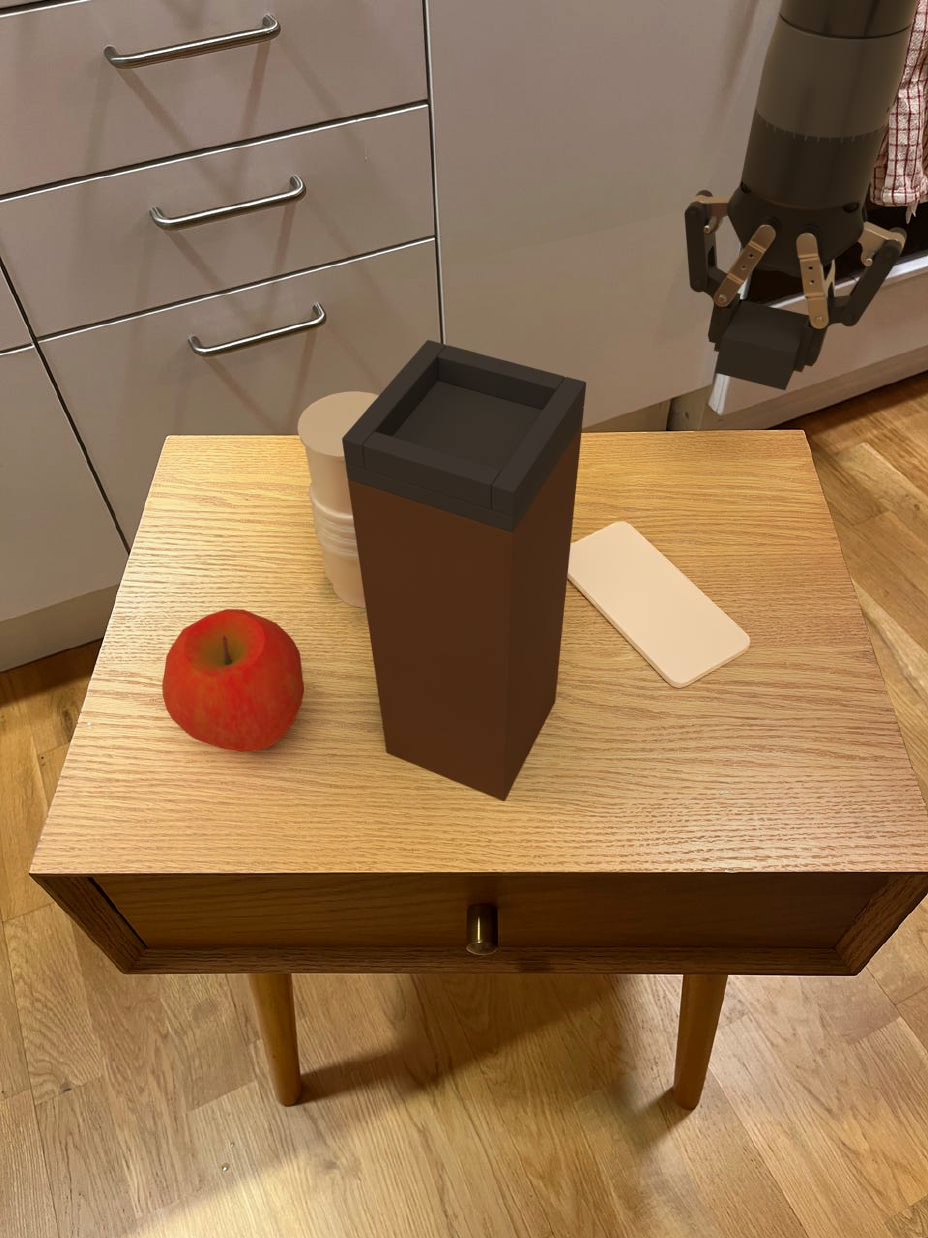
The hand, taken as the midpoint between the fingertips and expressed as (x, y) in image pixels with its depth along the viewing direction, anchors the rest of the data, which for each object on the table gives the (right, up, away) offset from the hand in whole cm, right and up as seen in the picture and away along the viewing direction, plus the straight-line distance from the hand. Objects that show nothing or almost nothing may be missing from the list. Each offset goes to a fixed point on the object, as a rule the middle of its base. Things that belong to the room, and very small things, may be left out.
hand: (761, 355), depth 68 cm
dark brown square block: (0, 0, +1) cm, 1 cm away
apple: (-35, -27, -3) cm, 45 cm away
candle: (-28, -16, +6) cm, 33 cm away
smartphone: (-7, -18, +4) cm, 19 cm away
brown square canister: (-21, -26, -3) cm, 33 cm away
